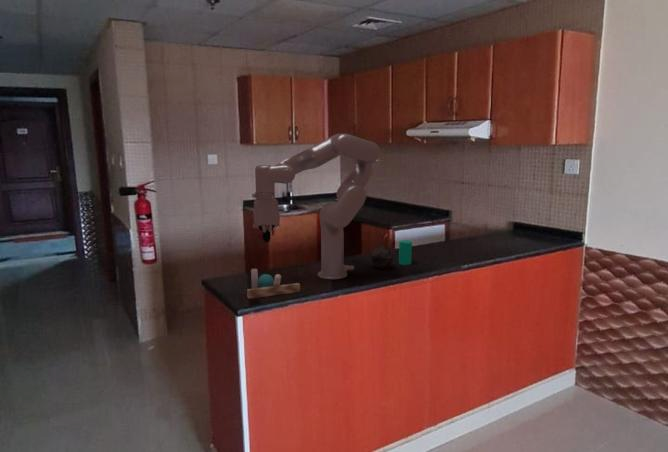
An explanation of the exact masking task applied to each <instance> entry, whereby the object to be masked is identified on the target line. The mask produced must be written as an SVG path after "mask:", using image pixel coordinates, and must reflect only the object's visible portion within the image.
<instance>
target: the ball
mask: <svg viewBox="0 0 668 452" xmlns="http://www.w3.org/2000/svg"><path fill="white" fill-rule="evenodd" d="M273 283H274V278H273V276H272V275H270V274H268V273H267V274H266V273H264V274H261V275H260V276H259V277H258V287H259V288H262V287H270V286H273Z"/></svg>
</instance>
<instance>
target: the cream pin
mask: <svg viewBox="0 0 668 452" xmlns="http://www.w3.org/2000/svg"><path fill="white" fill-rule="evenodd" d="M273 280H274V283H273V286H278V285H281V280H282V275H281V274H279V273H277V274H275V275H274V278H273Z"/></svg>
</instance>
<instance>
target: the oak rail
mask: <svg viewBox="0 0 668 452" xmlns="http://www.w3.org/2000/svg"><path fill="white" fill-rule="evenodd" d="M246 293H247V294H246V296H247V299H257V298H258V299H259V298H262V297H263V298H265V297H271V296H279V295H287V294H295V293H301V284H300V283H299V282H295V283H294V282H293V283H287V284H280V285H278V286H270V287H262V288H260V287H258V288H254V289H252V288H247V289H246Z"/></svg>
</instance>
